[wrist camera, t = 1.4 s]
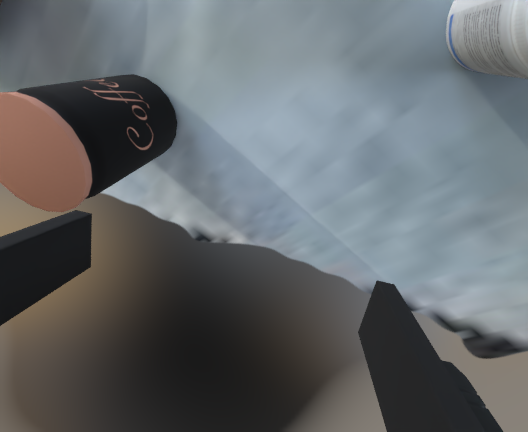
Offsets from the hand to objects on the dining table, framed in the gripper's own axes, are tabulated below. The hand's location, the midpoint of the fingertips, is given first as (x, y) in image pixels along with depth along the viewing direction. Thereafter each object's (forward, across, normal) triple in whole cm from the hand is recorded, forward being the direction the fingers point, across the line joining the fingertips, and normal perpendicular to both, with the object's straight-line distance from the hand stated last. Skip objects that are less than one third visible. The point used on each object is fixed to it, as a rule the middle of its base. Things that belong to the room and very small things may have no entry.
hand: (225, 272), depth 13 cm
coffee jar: (+29, -20, +4) cm, 35 cm away
